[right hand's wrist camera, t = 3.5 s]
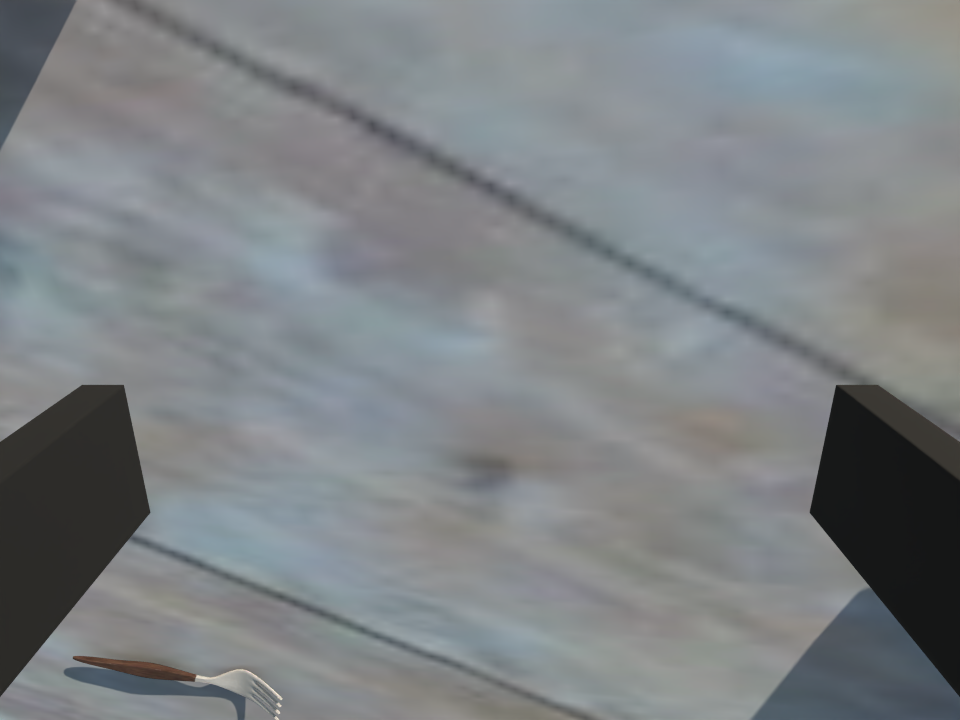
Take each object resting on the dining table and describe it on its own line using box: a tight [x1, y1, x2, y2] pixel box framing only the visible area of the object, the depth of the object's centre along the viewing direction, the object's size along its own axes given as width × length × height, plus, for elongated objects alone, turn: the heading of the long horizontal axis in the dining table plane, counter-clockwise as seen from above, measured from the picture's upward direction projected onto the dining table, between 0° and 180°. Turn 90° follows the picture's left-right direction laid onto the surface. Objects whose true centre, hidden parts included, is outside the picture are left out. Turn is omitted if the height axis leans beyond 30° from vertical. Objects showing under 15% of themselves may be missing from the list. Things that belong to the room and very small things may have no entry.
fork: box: [73, 656, 282, 720], centre depth 50 cm, size 3×16×2 cm, turn 76°
